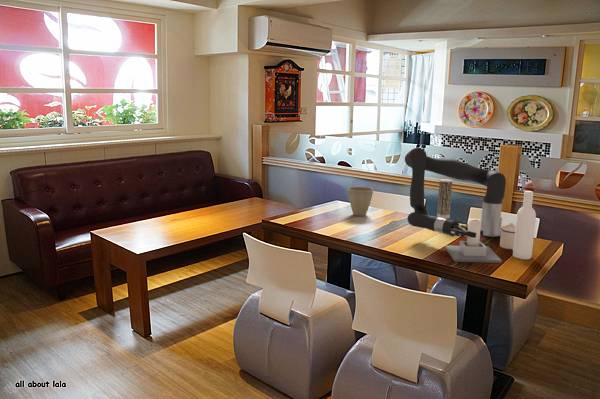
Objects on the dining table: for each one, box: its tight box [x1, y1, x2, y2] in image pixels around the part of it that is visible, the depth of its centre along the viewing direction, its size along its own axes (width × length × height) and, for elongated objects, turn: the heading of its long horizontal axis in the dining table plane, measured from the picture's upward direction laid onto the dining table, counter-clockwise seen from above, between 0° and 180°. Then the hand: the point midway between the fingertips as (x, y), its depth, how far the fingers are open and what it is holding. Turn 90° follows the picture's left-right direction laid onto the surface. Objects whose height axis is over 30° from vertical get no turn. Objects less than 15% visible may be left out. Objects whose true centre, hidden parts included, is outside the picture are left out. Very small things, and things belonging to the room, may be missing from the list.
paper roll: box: [466, 218, 481, 247], centre depth 225 cm, size 5×5×14 cm
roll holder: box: [444, 240, 503, 264], centre depth 226 cm, size 20×20×5 cm
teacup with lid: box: [499, 222, 516, 250], centre depth 239 cm, size 12×9×12 cm
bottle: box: [512, 190, 537, 260], centre depth 222 cm, size 8×8×30 cm
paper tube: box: [436, 178, 453, 219], centre depth 279 cm, size 7×7×25 cm
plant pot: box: [347, 186, 374, 217], centre depth 299 cm, size 15×15×16 cm
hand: (479, 234), depth 223 cm, fingers closed on paper roll, 5 cm apart
